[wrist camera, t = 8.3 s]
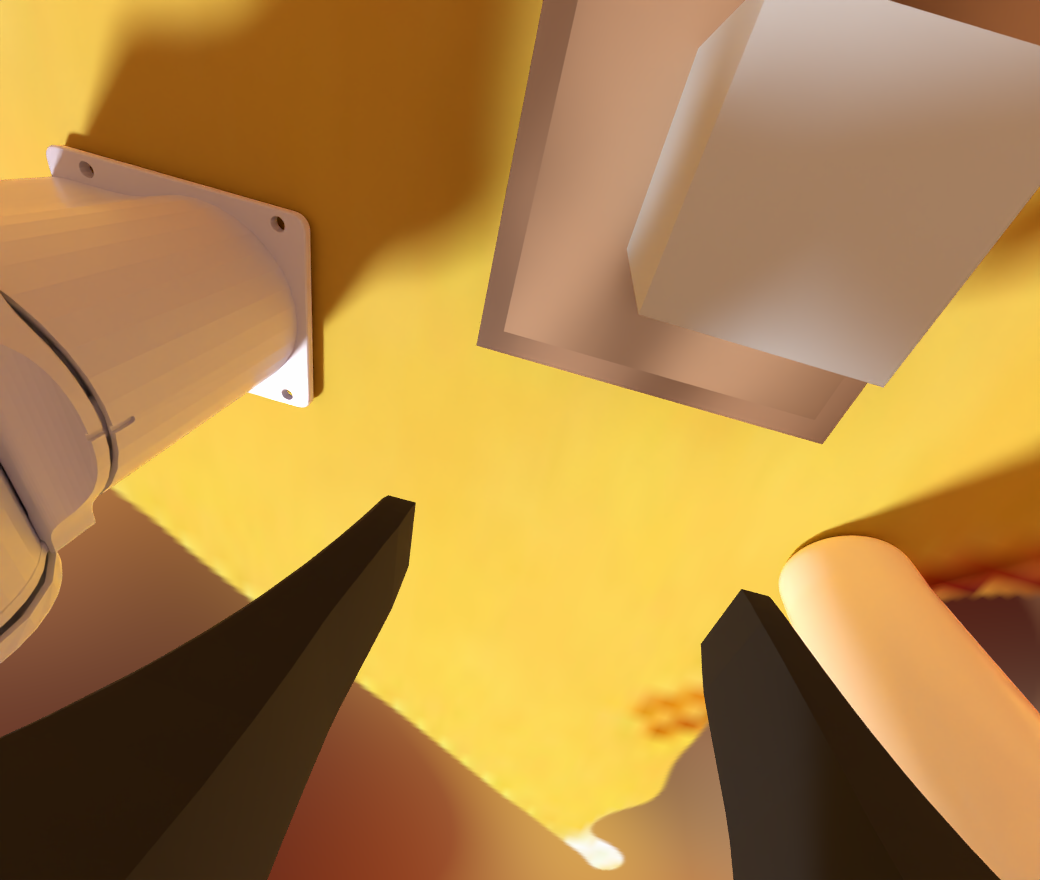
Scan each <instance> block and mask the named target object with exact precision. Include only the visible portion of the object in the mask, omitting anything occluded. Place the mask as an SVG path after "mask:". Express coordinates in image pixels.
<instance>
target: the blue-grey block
mask: <svg viewBox="0 0 1040 880" xmlns="http://www.w3.org/2000/svg"><path fill="white" fill-rule="evenodd" d="M1039 187H1040V46H1039V45H1036V44H1032V43H1029V42H1026V41H1022V40H1019V39H1016V38H1012V37H1009V36H1006V35H1002V34H999V33H996V32H992V31H989V30H986V29H983V28H979V27H976V26H973V25H969V24H966V23H963V22H959V21H956V20H953V19H949V18H946V17H943V16H939V15H936V14H933V13H929V12H926V11H923V10H920V9H916V8H913V7H910V6H906V5H903V4H900V3H896V2H893V1H890V0H745V1H744V2H743V3H742V4H741V5H740V6H739V7H738V8H737V9H736V10H735V11H734V12H733V13H732V14H731V15H730V16H729V17H728V18H727V19H726V20H725V21H724V22H723V23H722V24H721V25H720V26H719V27H718V29H717V30H716V31H715V32H714V33H713V34H712V35H711V36H710V37H709V38H708V39H707V40H706V41H705V42H704V43H703V44H702V45H701V46H700V47H699V48H698V51H697V53H696V56H695V59H694V62H693V65H692V67H691V70H690V73H689V76H688V79H687V81H686V84H685V87H684V90H683V93H682V95H681V98H680V101H679V104H678V107H677V109H676V112H675V115H674V118H673V121H672V123H671V126H670V129H669V132H668V135H667V137H666V140H665V143H664V146H663V149H662V151H661V154H660V157H659V160H658V163H657V165H656V168H655V171H654V174H653V177H652V179H651V182H650V185H649V188H648V191H647V193H646V196H645V199H644V202H643V205H642V207H641V210H640V213H639V216H638V219H637V221H636V224H635V227H634V230H633V233H632V235H631V238H630V241H629V244H628V247H627V253H628V259H629V264H630V270H631V275H632V281H633V286H634V292H635V297H636V303H637V308H638V313H639V315H643V316H646V317H649V318H653V319H656V320H659V321H663V322H666V323H669V324H673V325H676V326H680V327H683V328H686V329H690V330H693V331H696V332H700V333H703V334H706V335H710V336H713V337H716V338H720V339H723V340H726V341H730V342H733V343H736V344H740V345H743V346H746V347H750V348H753V349H757V350H760V351H763V352H767V353H770V354H773V355H777V356H780V357H783V358H787V359H790V360H793V361H797V362H800V363H803V364H807V365H810V366H813V367H817V368H820V369H823V370H827V371H830V372H834V373H837V374H840V375H844V376H847V377H850V378H854V379H857V380H860V381H864V382H867V383H870V384H874V385H877V386H880V387H884V386H885V385H886V383H887V382H888V381H889V380H890V378H891V377H892V376H893V374H894V373H895V372H896V371H897V369H898V368H899V367H900V365H901V364H902V363H903V362H904V360H905V359H906V358H907V356H908V355H909V354H910V353H911V351H912V350H913V349H914V347H915V346H916V345H917V344H918V342H919V341H920V340H921V338H922V337H923V336H924V335H925V333H926V332H927V331H928V329H929V328H930V327H931V326H932V324H933V323H934V322H935V320H936V319H937V318H938V317H939V315H940V314H941V313H942V311H943V310H944V309H945V308H946V306H947V305H948V304H949V302H950V301H951V300H952V299H953V297H954V296H955V295H956V293H957V292H958V291H959V290H960V288H961V287H962V286H963V284H964V283H965V282H966V281H967V279H968V278H969V277H970V275H971V274H972V273H973V272H974V270H975V269H976V268H977V266H978V265H979V264H980V263H981V261H982V260H983V259H984V257H985V256H986V255H987V254H988V252H989V251H990V250H991V248H992V247H993V246H994V245H995V243H996V242H997V241H998V239H999V238H1000V237H1001V236H1002V234H1003V233H1004V232H1005V230H1006V229H1007V228H1008V227H1009V225H1010V224H1011V223H1012V221H1013V220H1014V219H1015V218H1016V216H1017V215H1018V214H1019V212H1020V211H1021V210H1022V209H1023V207H1024V206H1025V205H1026V203H1027V202H1028V201H1029V200H1030V198H1031V197H1032V196H1033V194H1034V193H1035V192H1036V191H1037V189H1038V188H1039Z"/></svg>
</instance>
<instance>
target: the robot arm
mask: <svg viewBox="0 0 1040 880" xmlns="http://www.w3.org/2000/svg"><path fill="white" fill-rule="evenodd" d="M46 155H47V160H48V164H49V167H50V171H51V174H52V177H40V178H24V179H8V180H0V663H2V662H3V661H4V660H5V659H6V658H7V657H8V656H10V655H11V654H12V653H13V652H14V651H16V650H17V649H18V648H19V647H20V646H21V645H22V644H23V642H24V641H25V640H26V639H27V638H28V637H29V636H30V635H31V634H32V633H33V632H34V631H35V630H36V629H37V627H38V626H39V625H40V623H41V622H42V621H43V619H44V618H45V616H46V615H47V614H48V613H49V611H50V609H51V607H52V605H53V603H54V601H55V599H56V597H57V596H58V593H59V589H60V585H61V582H62V562H61V559H60V557H59V554H58V552H57V551H58V550H60V549H61V548H63V547H64V546H65V545H67V544H68V543H69V542H71V541H72V540H73V539H75V538H76V537H77V536H79V535H80V534H81V533H82V532H84V531H85V530H87V529H88V528H89V527H91V526H92V525H93V524H95V518H94V515H93V509H92V507H93V502H94V500H95V499H96V498H97V496H98V495H100V494H102V493H104V492H105V491H106V490H108V489H109V488H111V487H112V486H114V485H115V484H117V483H118V482H119V481H121V480H122V479H124V478H125V477H127V476H128V475H129V474H131V473H132V472H134V471H135V470H137V469H138V468H139V467H141V466H142V465H144V464H145V463H147V462H148V461H149V460H151V459H152V458H154V457H155V456H157V455H158V454H160V453H161V452H162V451H164V450H165V449H167V448H168V447H170V446H171V445H172V444H174V443H175V442H177V441H178V440H180V439H181V438H182V437H184V436H185V435H187V434H188V433H190V432H191V431H192V430H194V429H195V428H197V427H198V426H200V425H201V424H203V423H204V422H205V421H207V420H208V419H210V418H211V417H213V416H214V415H215V414H217V413H218V412H220V411H221V410H223V409H224V408H225V407H227V406H228V405H230V404H231V403H233V402H234V401H235V400H237V399H238V398H240V397H241V396H243V395H244V394H245V393H247V392H249V393H252V394H256V395H259V396H263V397H266V398H270V399H273V400H276V401H280V402H283V403H287V404H290V405H294V406H297V407H307V406H308V405H309V404H310V403H311V402H312V401H313V348H312V296H311V245H310V227H309V223H308V221H307V220H306V218H305V217H304V216H303V215H302V214H300V213H298V212H296V211H292V210H289V209H285V208H282V207H278V206H275V205H271V204H268V203H264V202H261V201H257V200H254V199H250V198H247V197H243V196H240V195H236V194H233V193H229V192H226V191H222V190H219V189H215V188H212V187H208V186H205V185H201V184H198V183H194V182H191V181H187V180H184V179H180V178H177V177H173V176H170V175H166V174H163V173H159V172H156V171H152V170H149V169H145V168H142V167H138V166H135V165H131V164H128V163H124V162H121V161H117V160H114V159H110V158H107V157H103V156H100V155H96V154H93V153H89V152H86V151H82V150H79V149H75V148H71V147H68V146H64V145H51V146H49V147H48V148H47V151H46ZM90 166H91V167H92V169H93V171H94V174H93V173H92V171H91V169H90ZM278 217H280V218H281V219H282V220H283V222H284V224H285V229H284V230H283V229H281V228H280V227H279V225H278V223H277V218H278ZM287 390H289V391H290V392H291V393H292V395H293V396H292V395H290V394H289V393H288V392H287ZM414 512H415V502H411V501H407V500H404V499H400V498H396V497H392V496H389V495H388V496H386V497H384V498H383V499H382V500H381V501H379V502H378V503H377V504H376V505H375V506H374V507H373V508H372V509H371V510H370V511H369V512H367V513H366V514H365V515H364V516H363V517H362V518H361V519H360V520H358V521H357V522H356V523H355V524H354V525H353V526H351V527H350V528H349V529H348V530H347V531H345V532H344V533H343V534H342V535H341V536H340V537H338V538H337V539H336V540H335V541H333V542H332V543H331V544H330V545H328V546H327V547H326V548H325V549H323V550H322V551H321V552H320V553H318V554H317V555H316V556H315V557H313V558H312V559H311V560H309V561H308V562H307V563H306V564H304V565H303V566H302V567H300V568H299V569H297V570H296V571H295V572H293V573H292V574H291V575H289V576H288V577H286V578H285V579H284V580H282V581H281V582H279V583H278V584H277V585H275V586H274V587H273V588H271V589H270V590H268V591H267V592H266V593H264V594H263V595H261V596H260V597H258V598H257V599H255V600H254V601H252V602H251V603H249V604H248V605H246V606H245V607H243V608H242V609H240V610H239V611H237V612H236V613H234V614H233V615H231V616H229V617H228V618H226V619H225V620H223V621H221V622H220V623H218V624H216V625H215V626H213V627H212V628H210V629H209V630H207V631H205V632H203V633H202V634H200V635H198V636H197V637H195V638H193V639H192V640H190V641H188V642H186V643H184V644H183V645H181V646H179V647H178V648H176V649H174V650H173V651H171V652H169V653H167V654H165V655H164V656H162V657H161V658H158V659H157V660H155V661H153V662H151V663H150V664H148V665H146V666H144V667H142V668H140V669H138V670H136V671H135V672H133V673H131V674H129V675H127V676H125V677H123V678H121V679H119V680H117V681H115V682H113V683H111V684H109V685H107V686H106V687H103V688H101V689H99V690H98V691H96V692H94V693H91V694H89V695H88V696H85V697H84V698H82V699H80V700H78V701H76V702H74V703H72V704H70V705H68V706H66V707H64V708H62V709H60V710H58V711H56V712H54V713H52V714H50V715H48V716H46V717H43V718H41V719H39V720H37V721H35V722H33V723H31V724H29V725H27V726H24V727H22V728H20V729H18V730H15V731H13V732H11V733H9V734H7V735H5V736H3V737H0V880H267V879H268V876H269V874H270V871H271V869H272V866H273V864H274V861H275V859H276V856H277V854H278V851H279V848H280V846H281V843H282V841H283V839H284V836H285V834H286V831H287V829H288V827H289V824H290V821H291V819H292V817H293V814H294V812H295V809H296V807H297V805H298V802H299V800H300V797H301V795H302V793H303V790H304V788H305V785H306V783H307V781H308V778H309V776H310V773H311V771H312V769H313V766H314V764H315V762H316V759H317V757H318V755H319V752H320V750H321V748H322V745H323V743H324V740H325V738H326V736H327V733H328V731H329V729H330V727H331V725H332V723H333V721H334V719H335V716H336V714H337V712H338V710H339V708H340V706H341V704H342V702H343V700H344V699H345V697H346V695H347V693H348V691H349V689H350V687H351V685H352V683H353V682H354V680H355V678H356V676H357V674H358V672H359V670H360V668H361V666H362V664H363V663H364V661H365V659H366V657H367V655H368V653H369V651H370V649H371V647H372V645H373V644H374V642H375V640H376V638H377V636H378V634H379V632H380V630H381V628H382V626H383V624H384V622H385V621H386V619H387V617H388V615H389V613H390V611H391V609H392V606H393V604H394V602H395V599H396V597H397V594H398V592H399V589H400V587H401V584H402V581H403V579H404V576H405V574H406V571H407V568H408V566H409V557H410V548H411V539H412V530H413V521H414ZM701 655H702V676H703V689H704V697H705V703H706V709H707V715H708V720H709V726H710V731H711V737H712V742H713V747H714V753H715V758H716V764H717V769H718V774H719V780H720V785H721V790H722V796H723V801H724V806H725V812H726V818H727V825H728V832H729V838H730V847H731V858H732V868H733V879H734V880H1001V879H1000V878H999V877H998V876H997V875H996V874H995V873H994V872H993V871H992V870H991V869H990V868H989V867H988V866H987V865H986V864H985V863H984V862H983V860H982V859H981V858H980V857H979V856H978V855H977V854H976V853H975V852H974V851H973V850H972V849H971V848H970V847H969V845H968V844H967V843H966V842H965V841H964V840H963V839H962V838H961V837H960V835H959V834H958V833H957V832H956V831H955V830H954V829H953V828H952V827H951V825H950V824H949V823H948V822H947V821H946V820H945V819H944V818H943V816H942V815H941V814H940V813H939V812H938V811H937V810H936V809H935V808H934V806H933V805H932V804H931V803H930V802H929V801H928V800H927V799H926V797H925V796H924V795H923V794H922V793H921V792H920V790H919V789H918V788H917V787H916V786H915V785H914V783H913V782H912V781H911V780H910V779H909V778H908V776H907V775H906V774H905V773H904V772H903V770H902V769H901V768H900V767H899V765H898V764H897V763H896V762H895V761H894V759H893V758H892V757H891V756H890V754H889V753H888V752H887V751H886V750H885V748H884V747H883V746H882V745H881V743H880V742H879V741H878V740H877V738H876V737H875V736H874V735H873V734H872V732H871V731H870V730H869V728H868V727H867V726H866V725H865V723H864V722H863V721H862V719H861V718H860V717H859V716H858V714H857V713H856V712H855V710H854V709H853V708H852V707H851V705H850V704H849V703H848V701H847V700H846V699H845V697H844V696H843V695H842V693H841V692H840V691H839V689H838V688H837V687H836V685H835V684H834V683H833V681H832V680H831V679H830V677H829V676H828V675H827V673H826V672H825V671H824V669H823V668H822V666H821V665H820V664H819V662H818V661H817V660H816V658H815V657H814V656H813V654H812V653H811V651H810V650H809V649H808V647H807V646H806V645H805V643H804V642H803V641H802V639H801V638H800V636H799V635H798V634H797V632H796V631H795V630H794V628H793V627H792V625H791V624H790V623H789V621H788V620H787V619H786V617H785V616H784V615H783V613H782V612H781V611H780V609H779V608H778V607H777V606H776V604H775V603H774V602H773V600H772V599H771V598H770V597H769V596H765V595H762V594H758V593H754V592H750V591H747V590H743V589H741V591H740V592H739V593H738V595H737V596H736V597H735V599H734V600H733V601H732V603H731V604H730V605H729V607H728V608H727V609H726V611H725V612H724V614H723V615H722V616H721V618H720V619H719V620H718V622H717V623H716V624H715V626H714V627H713V628H712V630H711V631H710V632H709V634H708V635H707V637H706V638H705V639H704V641H703V642H702V643H701Z"/></svg>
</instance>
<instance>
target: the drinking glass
mask: <svg viewBox="0 0 1040 880" xmlns="http://www.w3.org/2000/svg"><path fill="white" fill-rule="evenodd" d="M779 592H780V596H781V599H782V602H783V604H784V607H785V609H786V612H787V615H788V617H789V620H790V623H791V625H792V627H793V628H794V630H795V631H796V632H797V634H798V635H799V636H800V638H801V639H802V641H803V642H804V643H805V645H806V646H807V647H808V649H809V650H810V651H811V653H812V654H813V656H814V657H815V658H816V660H817V661H818V662H819V664H820V665H821V666H822V668H823V669H824V671H825V672H826V673H827V675H828V676H829V677H830V679H831V680H832V681H833V683H834V684H835V685H836V687H837V688H838V689H839V691H840V692H841V693H842V695H843V696H844V697H845V699H846V700H847V701H848V703H849V704H850V705H851V707H852V708H853V709H854V710H855V712H856V713H857V714H858V716H859V717H860V718H861V719H862V721H863V722H864V723H865V725H866V726H867V727H868V728H869V730H870V731H871V732H872V734H873V735H874V736H875V737H876V738H877V740H878V741H879V742H880V743H881V745H882V746H883V747H884V748H885V750H886V751H887V752H888V753H889V754H890V756H891V757H892V758H893V759H894V761H895V762H896V763H897V764H898V765H899V767H900V768H901V769H902V770H903V772H904V773H905V774H906V775H907V776H908V778H909V779H910V780H911V781H912V782H913V783H914V785H915V786H916V787H917V788H918V789H919V790H920V792H921V793H922V794H923V795H924V796H925V797H926V799H927V800H928V801H929V802H930V803H931V804H932V805H933V806H934V808H935V809H936V810H937V811H938V812H939V813H940V814H941V815H942V816H943V818H944V819H945V820H946V821H947V822H948V823H949V824H950V825H951V827H952V828H953V829H954V830H955V831H956V832H957V833H958V834H959V835H960V837H961V838H962V839H963V840H964V841H965V842H966V843H967V844H968V845H969V847H970V848H971V849H972V850H973V851H974V852H975V853H976V854H977V855H978V856H979V857H980V858H981V859H982V860H983V862H984V863H985V864H986V865H987V866H988V867H989V868H990V869H991V870H992V871H993V872H994V873H995V874H996V875H997V876H998V877H999V878H1000V879H1001V880H1040V713H1039V712H1038V711H1037V710H1036V709H1035V707H1034V706H1033V705H1032V704H1031V703H1030V702H1029V701H1028V700H1027V698H1026V697H1025V696H1024V695H1023V694H1022V693H1021V691H1020V690H1019V689H1018V688H1017V687H1016V686H1015V685H1014V684H1013V682H1012V681H1011V680H1010V679H1009V678H1008V677H1007V675H1006V674H1005V673H1004V672H1003V671H1002V670H1001V669H1000V667H999V666H998V665H997V664H996V663H995V662H994V661H993V659H992V658H991V657H990V656H989V655H988V654H987V653H986V651H985V650H984V649H983V648H982V647H981V646H980V645H979V643H978V642H977V641H976V640H975V639H974V638H973V636H971V634H970V633H969V632H968V631H967V630H966V629H965V627H964V626H963V625H962V624H961V623H960V622H959V620H958V619H957V618H956V617H955V616H954V615H953V613H952V612H951V611H950V610H949V609H948V607H947V606H946V605H945V604H944V603H943V602H942V600H941V599H940V598H939V597H938V596H937V595H936V593H935V592H934V591H933V590H932V589H931V587H930V586H929V585H928V583H927V582H926V580H925V579H924V578H923V576H922V575H921V574H920V572H919V571H918V569H917V568H916V567H915V565H914V564H913V563H912V561H911V560H910V559H909V558H908V557H907V556H906V555H905V554H904V553H903V552H902V551H901V550H899V549H898V548H896V547H895V546H893V545H891V544H889V543H887V542H885V541H882V540H879V539H876V538H872V537H867V536H857V535H846V536H836V537H831V538H827V539H823V540H820V541H817V542H814V543H812V544H810V545H808V546H806V547H804V548H802V549H801V550H799V551H798V552H796V553H795V554H794V555H793V556H792V557H791V558H790V559H789V560H788V561H787V562H786V564H785V565H784V567H783V569H782V571H781V573H780V577H779Z"/></svg>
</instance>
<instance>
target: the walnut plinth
mask: <svg viewBox="0 0 1040 880" xmlns="http://www.w3.org/2000/svg"><path fill="white" fill-rule="evenodd" d="M744 1H745V0H543V4H542V9H541V15H540V20H539V25H538V30H537V35H536V40H535V46H534V51H533V56H532V61H531V66H530V72H529V77H528V82H527V87H526V92H525V97H524V103H523V108H522V113H521V118H520V123H519V129H518V134H517V139H516V144H515V149H514V154H513V160H512V165H511V170H510V175H509V180H508V185H507V191H506V196H505V201H504V206H503V211H502V217H501V222H500V227H499V232H498V237H497V242H496V248H495V253H494V258H493V263H492V268H491V273H490V279H489V284H488V289H487V294H486V299H485V305H484V310H483V315H482V320H481V325H480V330H479V336H478V341H477V346H480V347H484V348H487V349H491V350H494V351H498V352H501V353H505V354H508V355H512V356H515V357H519V358H522V359H526V360H529V361H533V362H536V363H540V364H543V365H547V366H550V367H554V368H557V369H561V370H564V371H568V372H571V373H575V374H578V375H582V376H585V377H589V378H592V379H596V380H599V381H603V382H606V383H610V384H613V385H617V386H620V387H624V388H627V389H631V390H634V391H638V392H641V393H645V394H648V395H652V396H655V397H659V398H662V399H666V400H669V401H673V402H676V403H680V404H683V405H687V406H690V407H694V408H697V409H701V410H704V411H708V412H711V413H715V414H718V415H722V416H725V417H729V418H732V419H736V420H739V421H743V422H746V423H750V424H753V425H757V426H760V427H764V428H767V429H771V430H774V431H778V432H781V433H785V434H788V435H792V436H795V437H799V438H802V439H806V440H809V441H813V442H816V443H820V444H823V443H824V441H825V440H826V439H827V437H828V436H829V435H830V433H831V432H832V430H833V429H834V428H835V426H836V425H837V424H838V422H839V421H840V420H841V418H842V417H843V415H844V414H845V413H846V411H847V410H848V409H849V407H850V406H851V405H852V403H853V402H854V400H855V399H856V398H857V396H858V395H859V394H860V392H861V391H862V390H863V388H864V387H865V385H866V384H867V382H864V381H860V380H857V379H854V378H850V377H847V376H844V375H840V374H837V373H834V372H830V371H827V370H823V369H820V368H817V367H813V366H810V365H807V364H803V363H800V362H797V361H793V360H790V359H787V358H783V357H780V356H777V355H773V354H770V353H767V352H763V351H760V350H757V349H753V348H750V347H746V346H743V345H740V344H736V343H733V342H730V341H726V340H723V339H720V338H716V337H713V336H710V335H706V334H703V333H700V332H696V331H693V330H690V329H686V328H683V327H680V326H676V325H673V324H669V323H666V322H663V321H659V320H656V319H653V318H649V317H646V316H643V315H639V313H638V308H637V303H636V297H635V292H634V286H633V281H632V275H631V270H630V264H629V259H628V253H627V247H628V244H629V241H630V238H631V235H632V233H633V230H634V227H635V224H636V221H637V219H638V216H639V213H640V210H641V207H642V205H643V202H644V199H645V196H646V193H647V191H648V188H649V185H650V182H651V179H652V177H653V174H654V171H655V168H656V165H657V163H658V160H659V157H660V154H661V151H662V149H663V146H664V143H665V140H666V137H667V135H668V132H669V129H670V126H671V123H672V121H673V118H674V115H675V112H676V109H677V107H678V104H679V101H680V98H681V95H682V93H683V90H684V87H685V84H686V81H687V79H688V76H689V73H690V70H691V67H692V65H693V62H694V59H695V56H696V53H697V51H698V48H699V47H700V46H701V45H702V44H703V43H704V42H705V41H706V40H707V39H708V38H709V37H710V36H711V35H712V34H713V33H714V32H715V31H716V30H717V29H718V27H719V26H720V25H721V24H722V23H723V22H724V21H725V20H726V19H727V18H728V17H729V16H730V15H731V14H732V13H733V12H734V11H735V10H736V9H737V8H738V7H739V6H740V5H741V4H742V3H743V2H744ZM890 1H893V2H896V3H900V4H903V5H906V6H910V7H913V8H916V9H920V10H923V11H926V12H929V13H933V14H936V15H939V16H943V17H946V18H949V19H953V20H956V21H959V22H963V23H966V24H969V25H973V26H976V27H979V28H983V29H986V30H989V31H992V32H996V33H999V34H1002V35H1006V36H1009V37H1012V38H1016V39H1019V40H1022V41H1026V42H1029V43H1032V44H1036V45H1039V46H1040V0H890Z"/></svg>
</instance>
